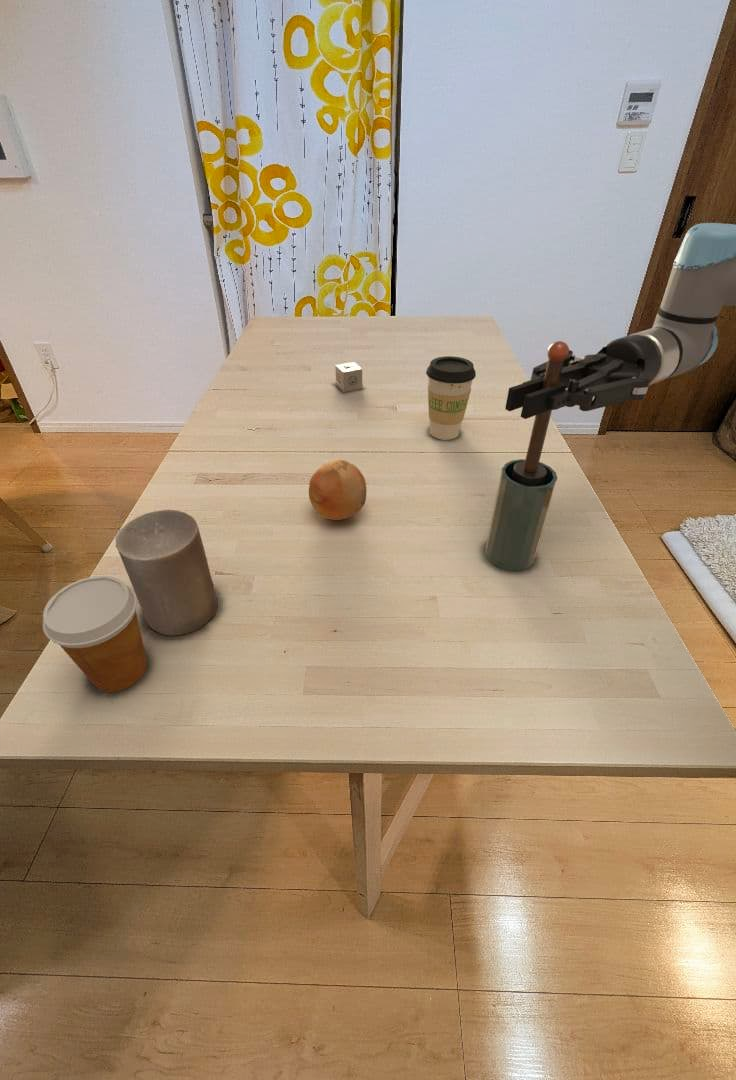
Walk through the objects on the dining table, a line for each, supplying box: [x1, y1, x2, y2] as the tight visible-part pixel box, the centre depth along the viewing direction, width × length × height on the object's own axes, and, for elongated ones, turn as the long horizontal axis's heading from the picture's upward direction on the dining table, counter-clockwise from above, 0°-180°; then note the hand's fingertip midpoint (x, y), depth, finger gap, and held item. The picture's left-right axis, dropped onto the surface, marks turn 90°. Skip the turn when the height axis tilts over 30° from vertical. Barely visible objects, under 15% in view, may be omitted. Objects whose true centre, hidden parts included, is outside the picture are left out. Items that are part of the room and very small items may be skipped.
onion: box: [308, 459, 367, 521], centre depth 86 cm, size 10×10×10 cm
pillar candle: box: [114, 509, 219, 637], centre depth 67 cm, size 10×10×15 cm
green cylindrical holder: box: [485, 458, 558, 572], centre depth 76 cm, size 7×7×15 cm
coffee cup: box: [425, 355, 477, 441], centre depth 107 cm, size 10×10×15 cm
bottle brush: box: [511, 340, 570, 487], centre depth 68 cm, size 4×4×26 cm
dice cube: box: [334, 361, 363, 393], centre depth 128 cm, size 5×5×5 cm
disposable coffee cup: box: [42, 575, 148, 693], centre depth 60 cm, size 10×10×12 cm
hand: (517, 403), depth 61 cm, fingers closed on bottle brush, 2 cm apart
